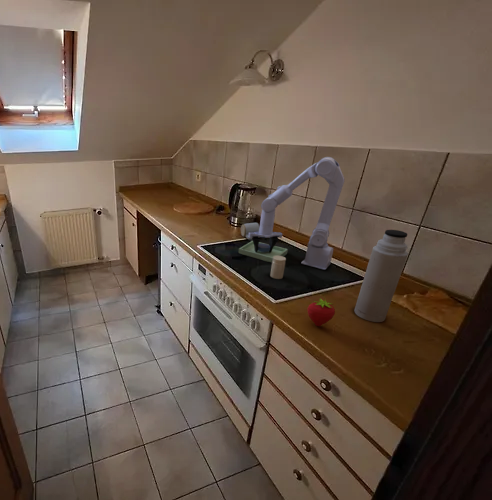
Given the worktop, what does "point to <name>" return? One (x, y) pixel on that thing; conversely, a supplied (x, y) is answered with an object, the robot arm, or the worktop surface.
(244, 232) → the ceramic mug
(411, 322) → the worktop surface
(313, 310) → the strawberry
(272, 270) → the jar
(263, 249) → the jar lid
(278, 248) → the tray
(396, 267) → the thermos bottle
